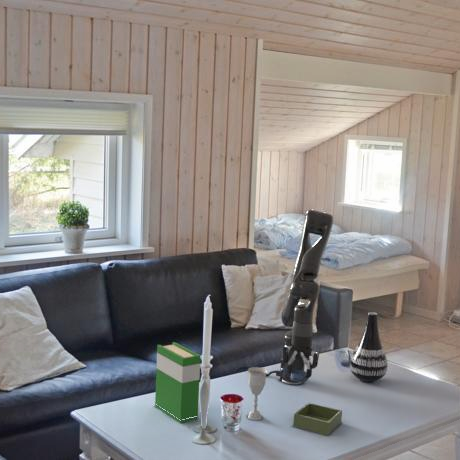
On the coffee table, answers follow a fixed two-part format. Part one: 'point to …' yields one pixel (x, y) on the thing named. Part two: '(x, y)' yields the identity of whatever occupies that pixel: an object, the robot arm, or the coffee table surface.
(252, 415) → the chalice
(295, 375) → the blue round puck
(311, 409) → the tub
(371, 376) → the vase
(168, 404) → the hardback book
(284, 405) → the coffee table surface
